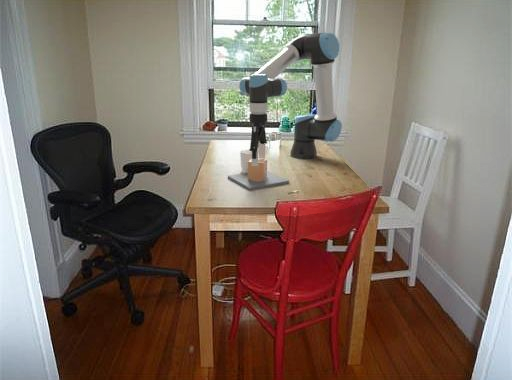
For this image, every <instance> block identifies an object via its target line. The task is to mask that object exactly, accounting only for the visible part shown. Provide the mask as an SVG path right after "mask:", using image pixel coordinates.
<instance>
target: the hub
mask: <svg viewBox="0 0 512 380" xmlns="http://www.w3.org/2000/svg"><path fill="white" fill-rule="evenodd" d="M227 179H228V180H230V181H232V182H234V183H236V184H238V185H239V186H241V187H243V188H244V189H246V190H248V191H254V190H259V189H264V188H265V189H266V188H271V187H276V186H281V185H287V184H290V180H289V179H287V178H284V177H282V176H281V175H278V174H275V173H273V172H271V171H269V170H267V177H266V178H265V179H264V181H260V180H248V173H243V172H241V173H236V174H231V175H227Z"/></svg>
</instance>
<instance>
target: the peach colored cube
mask: <svg viewBox="0 0 512 380" xmlns="http://www.w3.org/2000/svg"><path fill="white" fill-rule="evenodd" d="M267 171H268V159H267V158H258V166H252V159H251V160H249V161H248V180H260V181H264V179H265V178H266V177H267Z"/></svg>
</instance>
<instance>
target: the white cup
mask: <svg viewBox="0 0 512 380" xmlns="http://www.w3.org/2000/svg"><path fill="white" fill-rule="evenodd" d="M239 153H240V155H239V156H240V167H241V173H248V161H249V160H251V159H252V158H251V151H249V149H242V150H240V152H239Z"/></svg>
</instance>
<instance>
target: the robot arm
mask: <svg viewBox="0 0 512 380" xmlns="http://www.w3.org/2000/svg"><path fill="white" fill-rule="evenodd" d="M339 52H340V42H339V39H338V37H337V36H336V35H335V34H334V33H333V32H319V33H318V32H317V33H305V34H301V35H299V36H298V37H296V38H294V39H292V40H291V41H289V42H288V43H286V45H285V46H283V48H282V51H281V52H279V53H278V54H277V55H275V56H274V57H273V58H272V59H271V60H270V61H268V62H267V63H266V64H265V65H264V66H262V67H261V68H260V69H259V70H258V71H256V72H255V73H254V74H251V75H249V77H248V76H247V77H243V78H241V79H240V82H239V85H238V88H239V90H240V92H241V94H244V95H246V96H247V95H248V96H249V104H248V108H249V123H251V124H254V126H252V127H251V136H250V145H249V149H248V150H249V151H251V158H252V166H258V159H266V144H268V141H267V136H266V135H267V134H266V127H265V126H266V123H267V122H268V110H269V109H268V99H269V98H274V97H282V96H284V95H285V94H286V93H287V90H288V83H287V82H286V80H285V79H283V78H278V76H279V75H280V74H282V73H283V72H284V71H285V70H286V69H288V67H290V66H291V65H292V64H296V63H298V62H299V61H301V60H310V65H311V66H312V67H313V71H314V86H315V87H314V88H315V89H314V90H315V100H316V101H315V103H316V114H305V115H297V116H296V117H295V118H294V126H293V127H294V132H293V133H294V135H293V144H292V147H291V149H290V157H292V158H294V159H295V158H296V159H303V160H304V159H314V158H317V156H318V151H317V147H316V140H317V141H322V142H323V141H324V142H332V143H333V142H335V141H337V140H338V138H339V137H340V135H341V132H342V127H343V126H342V121H341V120H339V119H338V118H337V117H338V116H337V113H335V111H334V90H333V89H334V87H333V68H332V67H333V64H334V63H335V62H336V61H335V59H336V58H337V57H339Z"/></svg>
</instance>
